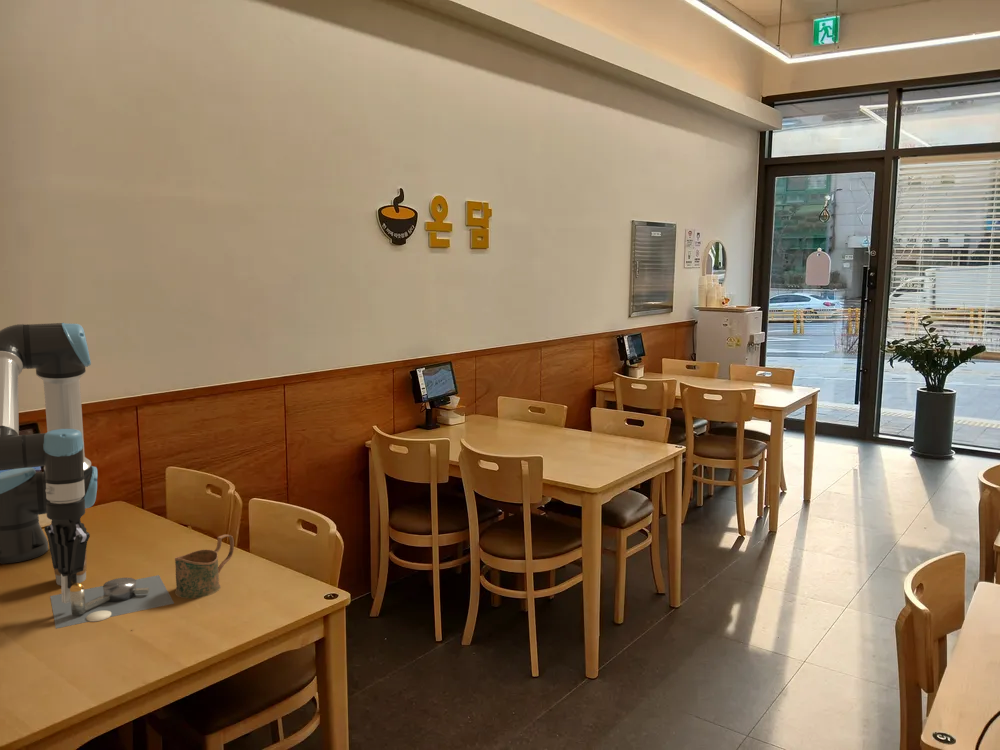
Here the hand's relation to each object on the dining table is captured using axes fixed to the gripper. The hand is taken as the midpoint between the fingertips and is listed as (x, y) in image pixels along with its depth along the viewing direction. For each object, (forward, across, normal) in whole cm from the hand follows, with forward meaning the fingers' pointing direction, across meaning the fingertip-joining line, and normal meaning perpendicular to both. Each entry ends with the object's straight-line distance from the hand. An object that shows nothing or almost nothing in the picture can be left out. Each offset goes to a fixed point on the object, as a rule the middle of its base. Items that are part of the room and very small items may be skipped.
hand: (69, 600), depth 175 cm
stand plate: (+4, +2, +9) cm, 10 cm away
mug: (+3, +15, +26) cm, 30 cm away
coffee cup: (+4, -17, +11) cm, 21 cm away
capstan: (+2, +3, +7) cm, 8 cm away
